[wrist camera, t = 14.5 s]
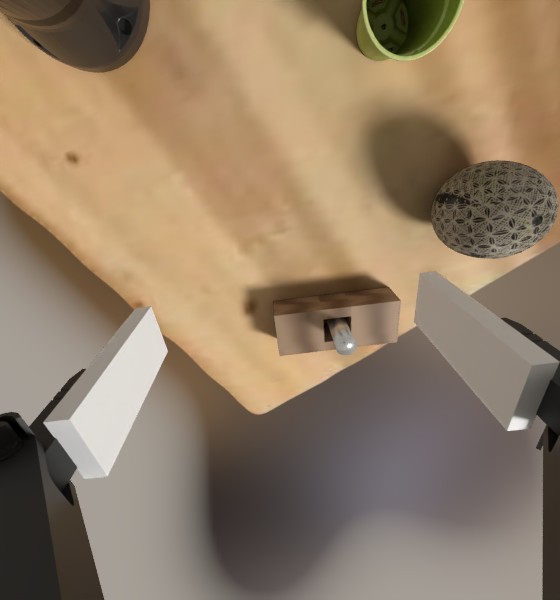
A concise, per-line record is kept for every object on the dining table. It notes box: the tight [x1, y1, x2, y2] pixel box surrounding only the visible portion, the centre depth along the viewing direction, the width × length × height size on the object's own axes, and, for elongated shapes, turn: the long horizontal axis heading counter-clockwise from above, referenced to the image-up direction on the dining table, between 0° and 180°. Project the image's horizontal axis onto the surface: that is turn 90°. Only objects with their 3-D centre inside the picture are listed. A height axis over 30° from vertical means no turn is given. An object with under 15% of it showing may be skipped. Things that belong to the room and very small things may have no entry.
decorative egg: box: [431, 161, 558, 258], centre depth 37 cm, size 12×12×15 cm
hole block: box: [273, 287, 401, 356], centre depth 49 cm, size 20×8×5 cm, turn 97°
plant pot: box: [356, 0, 464, 61], centre depth 30 cm, size 9×9×9 cm
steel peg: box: [326, 317, 357, 355], centre depth 47 cm, size 3×3×10 cm
